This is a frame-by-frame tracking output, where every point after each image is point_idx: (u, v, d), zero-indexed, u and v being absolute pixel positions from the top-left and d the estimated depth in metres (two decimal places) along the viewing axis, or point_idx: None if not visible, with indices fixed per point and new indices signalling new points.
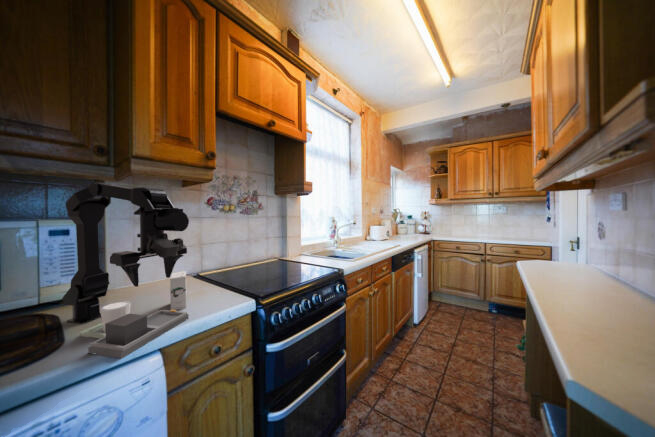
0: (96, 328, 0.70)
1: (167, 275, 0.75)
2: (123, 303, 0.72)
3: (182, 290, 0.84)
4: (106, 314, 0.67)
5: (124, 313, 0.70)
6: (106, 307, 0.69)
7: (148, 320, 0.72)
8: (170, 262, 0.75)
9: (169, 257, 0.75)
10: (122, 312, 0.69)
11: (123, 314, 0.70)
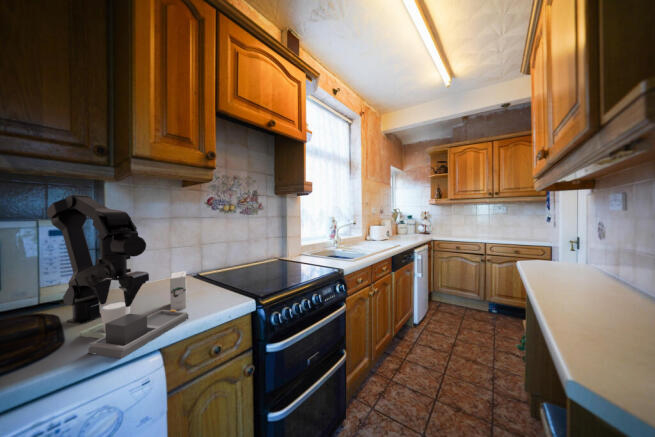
0: (96, 328, 0.70)
1: None
2: (123, 303, 0.72)
3: (182, 290, 0.84)
4: (106, 314, 0.67)
5: (124, 313, 0.70)
6: (106, 307, 0.69)
7: (148, 320, 0.72)
8: None
9: None
10: (122, 312, 0.69)
11: (123, 314, 0.70)
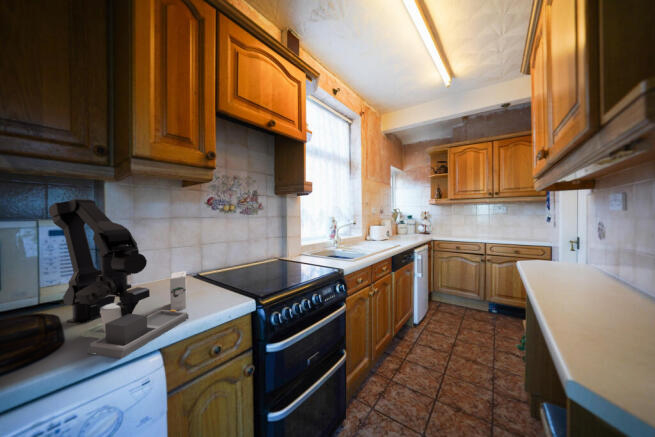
0: (96, 328, 0.70)
1: None
2: None
3: (182, 290, 0.84)
4: (106, 314, 0.67)
5: None
6: (106, 307, 0.69)
7: (148, 320, 0.72)
8: None
9: None
10: None
11: None
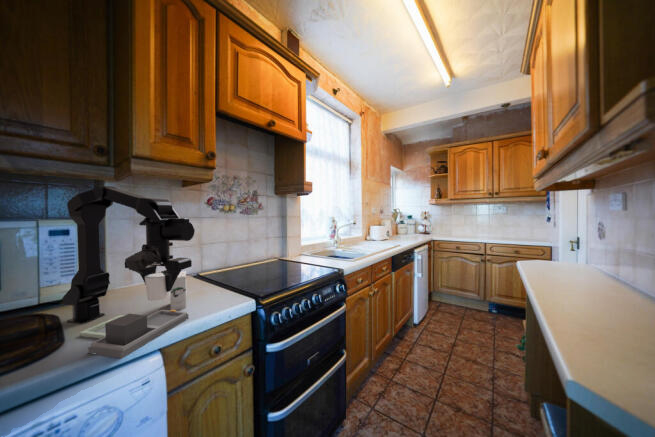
0: (96, 328, 0.70)
1: None
2: None
3: (182, 290, 0.84)
4: (151, 282, 0.69)
5: None
6: (150, 276, 0.71)
7: (148, 320, 0.72)
8: None
9: None
10: None
11: None
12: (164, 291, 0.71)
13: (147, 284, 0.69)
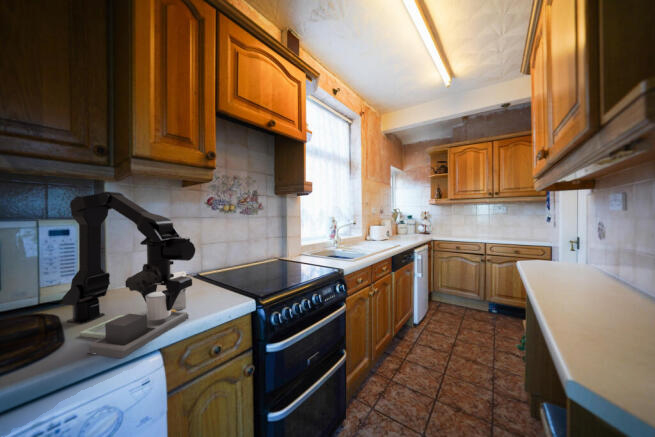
0: (96, 328, 0.70)
1: None
2: None
3: (182, 290, 0.84)
4: (152, 301, 0.69)
5: None
6: (151, 295, 0.71)
7: (148, 320, 0.72)
8: None
9: None
10: None
11: None
12: (165, 310, 0.71)
13: (148, 304, 0.69)
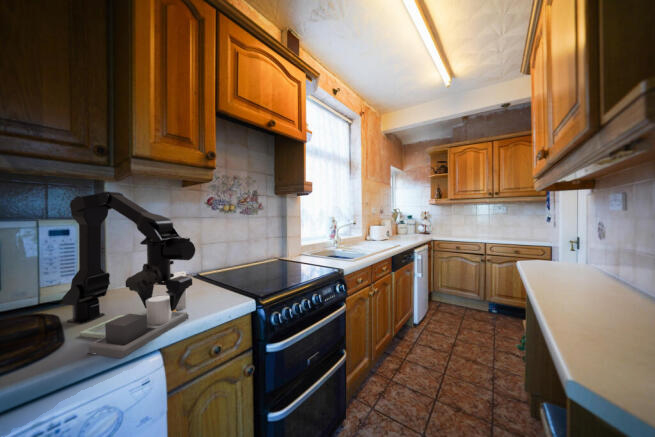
0: (96, 328, 0.70)
1: None
2: (166, 296, 0.74)
3: None
4: (152, 306, 0.69)
5: (168, 306, 0.72)
6: (151, 300, 0.71)
7: None
8: None
9: None
10: (166, 305, 0.71)
11: (167, 307, 0.71)
12: (165, 315, 0.71)
13: (148, 308, 0.69)
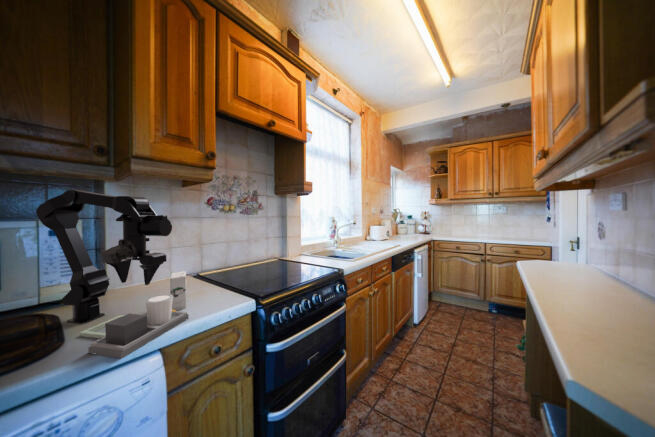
0: (96, 328, 0.70)
1: None
2: (166, 296, 0.74)
3: (182, 290, 0.84)
4: (152, 306, 0.69)
5: (168, 306, 0.72)
6: (151, 300, 0.71)
7: None
8: None
9: None
10: (166, 305, 0.71)
11: (167, 307, 0.71)
12: (165, 315, 0.71)
13: (148, 308, 0.69)
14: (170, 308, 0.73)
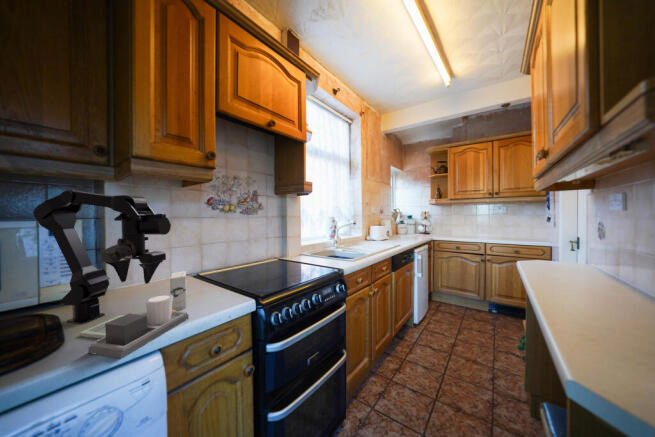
0: (96, 328, 0.70)
1: None
2: (166, 296, 0.74)
3: (182, 290, 0.84)
4: (152, 306, 0.69)
5: (168, 306, 0.72)
6: (151, 300, 0.71)
7: None
8: None
9: None
10: (166, 305, 0.71)
11: (167, 307, 0.71)
12: (165, 315, 0.71)
13: (148, 308, 0.69)
14: (170, 308, 0.73)
